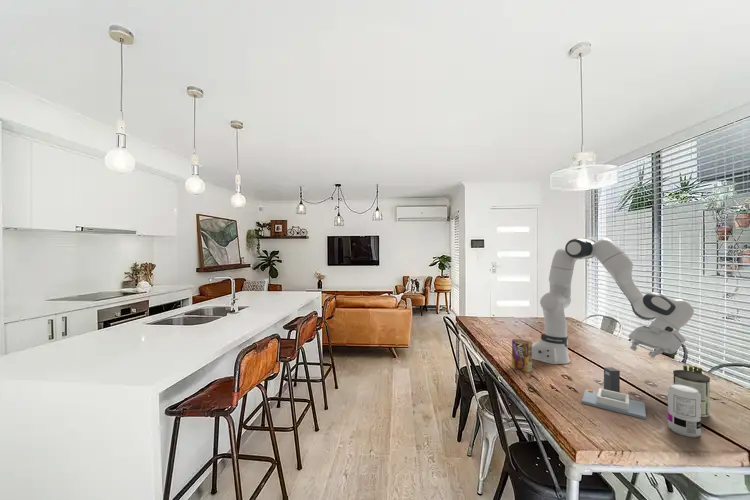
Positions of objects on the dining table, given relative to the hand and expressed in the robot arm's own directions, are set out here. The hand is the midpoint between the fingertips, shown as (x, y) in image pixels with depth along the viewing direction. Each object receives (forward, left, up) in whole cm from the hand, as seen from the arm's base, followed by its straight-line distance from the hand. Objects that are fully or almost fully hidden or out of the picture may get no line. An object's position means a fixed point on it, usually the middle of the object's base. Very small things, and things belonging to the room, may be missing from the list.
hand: (641, 352), depth 142 cm
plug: (-10, -9, -17) cm, 22 cm away
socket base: (-9, -23, -17) cm, 30 cm away
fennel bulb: (+18, +12, -17) cm, 28 cm away
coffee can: (+15, -10, -17) cm, 25 cm away
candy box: (-48, -6, -17) cm, 52 cm away
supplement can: (+11, -32, -17) cm, 38 cm away
